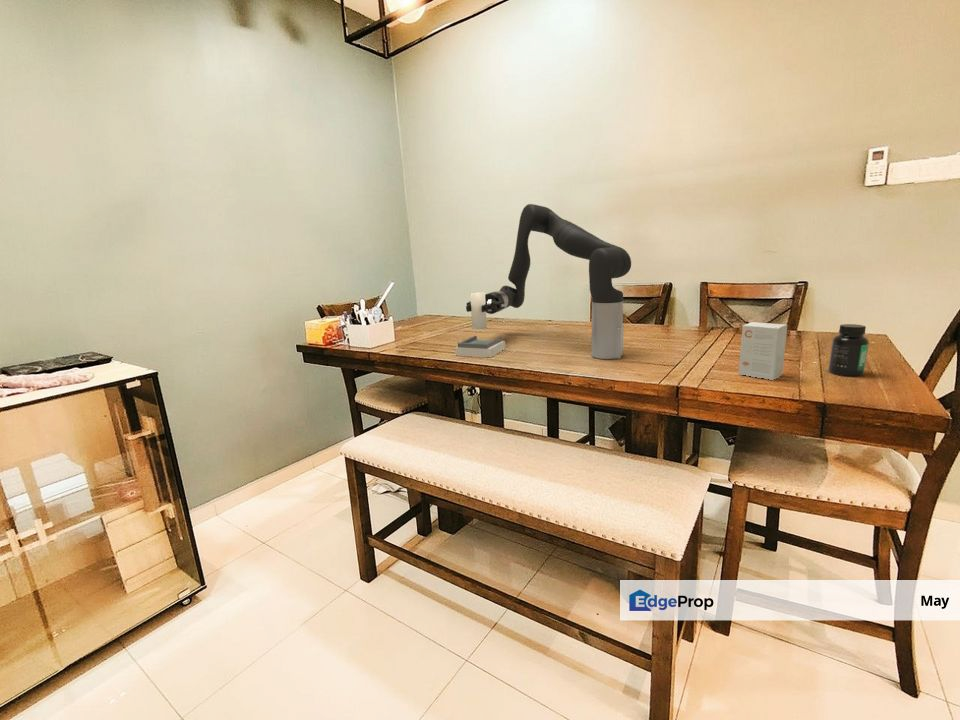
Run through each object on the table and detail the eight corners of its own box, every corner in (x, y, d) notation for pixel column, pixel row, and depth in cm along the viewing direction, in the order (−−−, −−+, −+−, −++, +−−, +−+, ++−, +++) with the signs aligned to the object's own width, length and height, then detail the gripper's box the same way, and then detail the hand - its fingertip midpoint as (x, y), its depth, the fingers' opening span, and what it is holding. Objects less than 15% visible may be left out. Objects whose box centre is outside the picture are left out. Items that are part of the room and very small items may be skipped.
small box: (782, 375, 110) (788, 324, 107) (773, 381, 107) (779, 328, 103) (747, 370, 117) (752, 321, 113) (737, 375, 113) (741, 325, 110)
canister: (489, 326, 153) (487, 292, 150) (483, 329, 148) (481, 293, 145) (476, 326, 155) (474, 292, 152) (469, 329, 150) (467, 293, 147)
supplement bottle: (869, 377, 105) (877, 328, 103) (836, 376, 107) (843, 328, 104) (854, 369, 112) (862, 323, 109) (823, 369, 114) (829, 323, 111)
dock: (505, 349, 156) (504, 337, 155) (490, 357, 145) (489, 344, 144) (472, 347, 162) (471, 335, 161) (455, 355, 150) (454, 343, 149)
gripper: (477, 291, 164) (455, 297, 149) (512, 291, 158) (494, 297, 143) (478, 311, 166) (456, 319, 151) (513, 312, 160) (495, 320, 145)
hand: (475, 308), depth 147 cm, fingers closed on canister, 5 cm apart
